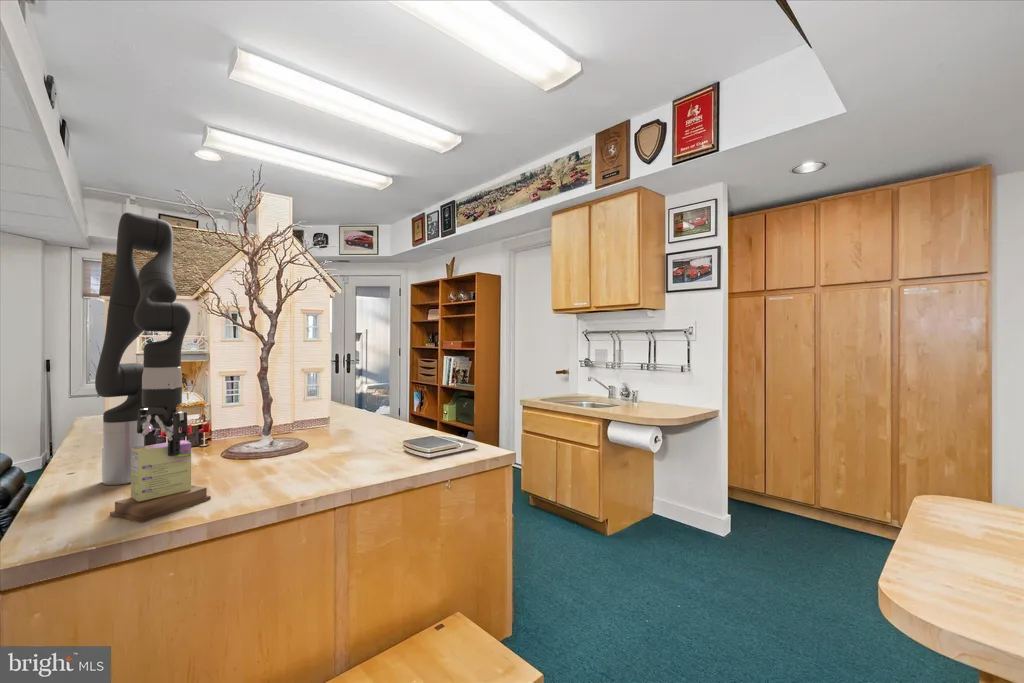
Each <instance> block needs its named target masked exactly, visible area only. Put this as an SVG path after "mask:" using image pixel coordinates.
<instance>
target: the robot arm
mask: <svg viewBox="0 0 1024 683" xmlns="http://www.w3.org/2000/svg"><path fill="white" fill-rule="evenodd" d="M117 227H118V230H117V237H116V238H117V239H116V241H117V242H116V254H115V255H116V256H115V267H114V274H113V280H112V285H111V291H110V296H109V302H108V308H107V317H106V326H105V327H106V328H105V333H104V334H105V335H104V341H103V346H102V348H101V353H100V357H99V361H98V365H97V368H96V373H95V378H94V379H95V382H94V387H95V388H94V389H95V391H96V393H97V395H98V396H100V397H102V398H117V397H127V398H126V399H125V401H123V402H122V403H121V404H119V405H117V406H115V407H112V408H109V409H107V410H105V411H104V412H103V414H102V416H103V417H102V418H103V419H102V422H103V424H102V425H103V426H102V430H103V433H102V436H103V438H102V439H103V440H102V442H103V447H102V450H101V451H102V455H101V456H102V458H101V459H102V470H101V472H102V473H101V475H102V477H101V479H102V480H101V481H102V484H103V485H106V486H107V485H108V486H117V485H125V484H131V448H133V447H140V446H147V445H154V444H157V435H156V434H157V432H158V430H161V431H162V433H163V434H165V435H166V438H167V443H168V456H176V455H179V453H180V441H181V439H184V438H186V437H188V432H189V431H188V412H187V411H185V410H184V411H178V408H177V407H178V406H179V405H181V404H182V403H183V374H182V367H181V366H182V347H183V341H184V338H185V335H186V333H187V330H188V327H189V325H190V321H191V318H192V317H191V312H190V309H189V307H188V306H187V305H186V304H183V303H181V302H180V303H179V302H175V301H176V300H177V298H178V297H177V296H178V295H177V289H176V283H175V278H174V268H173V267H174V234H173V232H174V231H173V229H172V228H173V227H172V225H171V224H170V223H169V222H168V221H166V220H163V219H160V218H157V217H152V216H146V215H143V214H138V213H133V212H124V213H122V215H121V216H120V219H119V222H118V226H117ZM134 250H140V251H144V252H145V251H146V252H149V253H157V254H156V255H155V256H154V257H153V258H151V259H150V260H148V261H147V262H146V263H145V264H144V265H143V266H142V267H141V269H140V270H138V267H137V265H136V263H135V258H134ZM143 332H151V333H152V332H159V333H160V332H162V333H163V332H164V333H165V332H166V333H167V332H168V333H170V332H171V333H170V335H169V336H168V337H167V338H165V339H163V340H157V341H153V342H151V341H150V342H148V343H146V344H145V345H144V346H143V363H141V362H140V363H139V362H135V363H134V362H133V363H121V360H122V357H123V356H124V354H125V352H126V350H127V349H128V348H129V346H130V345H131V344H132V343H133V342H134V341H135V340H136V339H137V338H138V337H139V336H140V335H141V334H143ZM180 428H181V430H180Z"/></svg>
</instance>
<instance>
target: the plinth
mask: <svg viewBox="0 0 1024 683" xmlns="http://www.w3.org/2000/svg"><path fill="white" fill-rule="evenodd" d="M207 488H208V487H205V486H204V487H203V486H198V485H192V484H191V490H190V491H185V492H181V493H176V494H171V495H166V496H162V497H157V498H153V499H149V500H144V501H140V502H138V501H136V500H134V499H133V498H131V496H130V497H128V498H123V499H120V500H117V501H114V510H113V511H110V512H109V516H110V517H114V518H120V519H123V520H129V521H132V522H137V523H145V522H148V521H151V520H154V519H157V518H160V517H163V516H165V515H168V514H172V513H174V512H177V511H180V510H183V509H186V508H190V507H192V506H196V505H198V504H201V503H204V502H206V501H209V500H212V499H211V498H212V497H211V495H207V494H208V492H207V490H208V489H207Z"/></svg>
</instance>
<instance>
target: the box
mask: <svg viewBox="0 0 1024 683" xmlns="http://www.w3.org/2000/svg"><path fill="white" fill-rule="evenodd" d="M191 485H192V442H190V441H187V440H184V439H182V440H181V439H180V453H179V455H176V456H168V442H163V443H156V444H154V445H147V446H140V447H133V448H131V483H130V497H131V498H133V499H134V500H136V501H138V502H140V501H144V500H149V499H153V498H157V497H162V496H166V495H171V494H176V493H181V492H185V491H190V490H191Z"/></svg>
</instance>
